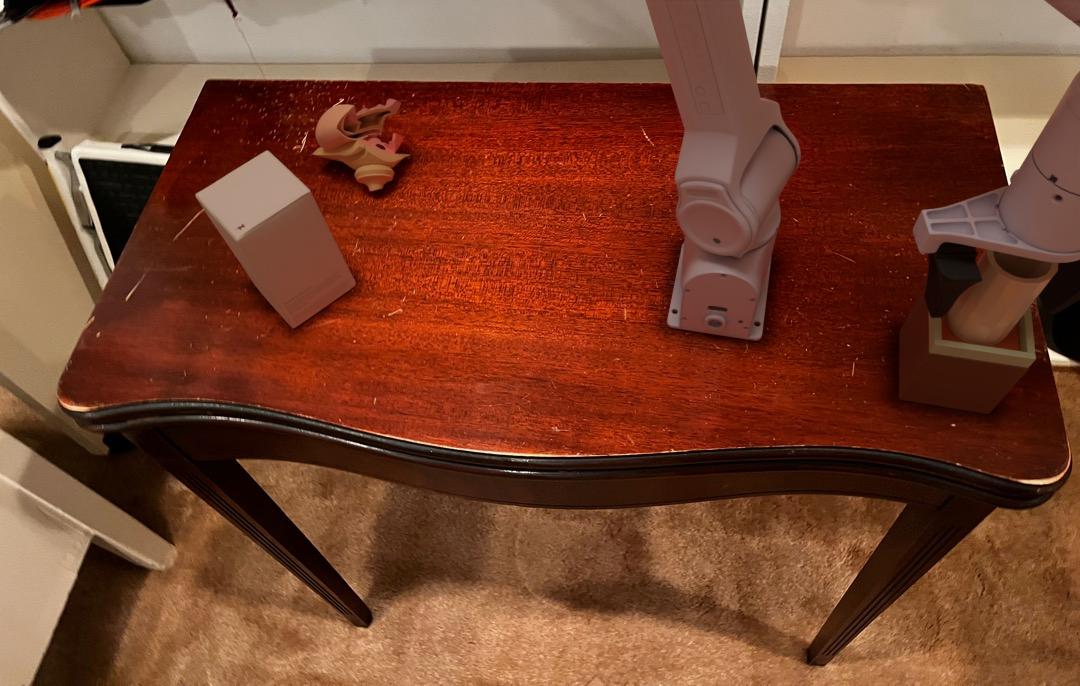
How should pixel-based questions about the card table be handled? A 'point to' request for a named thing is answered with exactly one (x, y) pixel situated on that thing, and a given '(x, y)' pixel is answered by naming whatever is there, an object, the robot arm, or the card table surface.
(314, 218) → the white packaging box
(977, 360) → the holder
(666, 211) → the card table surface
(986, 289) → the beige hollow cylinder
